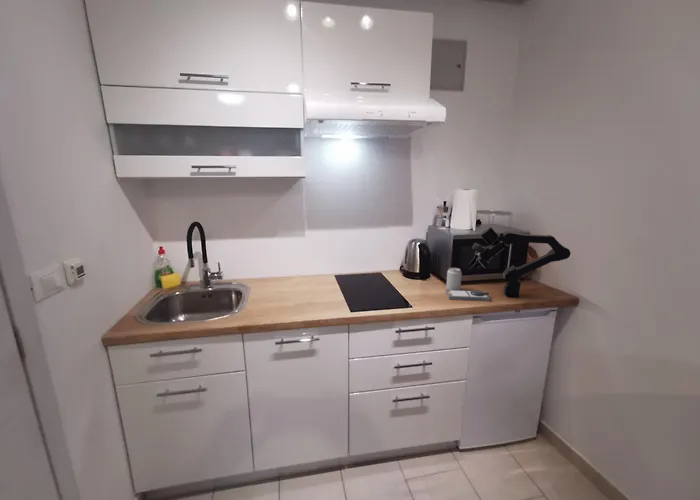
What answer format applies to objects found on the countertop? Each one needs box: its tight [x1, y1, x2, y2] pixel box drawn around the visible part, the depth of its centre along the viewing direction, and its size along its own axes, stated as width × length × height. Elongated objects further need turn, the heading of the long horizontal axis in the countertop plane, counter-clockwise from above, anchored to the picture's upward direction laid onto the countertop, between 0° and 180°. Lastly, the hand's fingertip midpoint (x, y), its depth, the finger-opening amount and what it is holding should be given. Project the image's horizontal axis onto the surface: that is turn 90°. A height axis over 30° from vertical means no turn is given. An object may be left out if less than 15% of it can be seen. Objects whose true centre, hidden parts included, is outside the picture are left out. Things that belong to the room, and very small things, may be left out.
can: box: [445, 267, 463, 290], centre depth 179 cm, size 8×8×12 cm
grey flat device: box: [445, 289, 491, 302], centre depth 170 cm, size 21×10×3 cm, turn 84°
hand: (469, 268), depth 176 cm, fingers open, 9 cm apart
